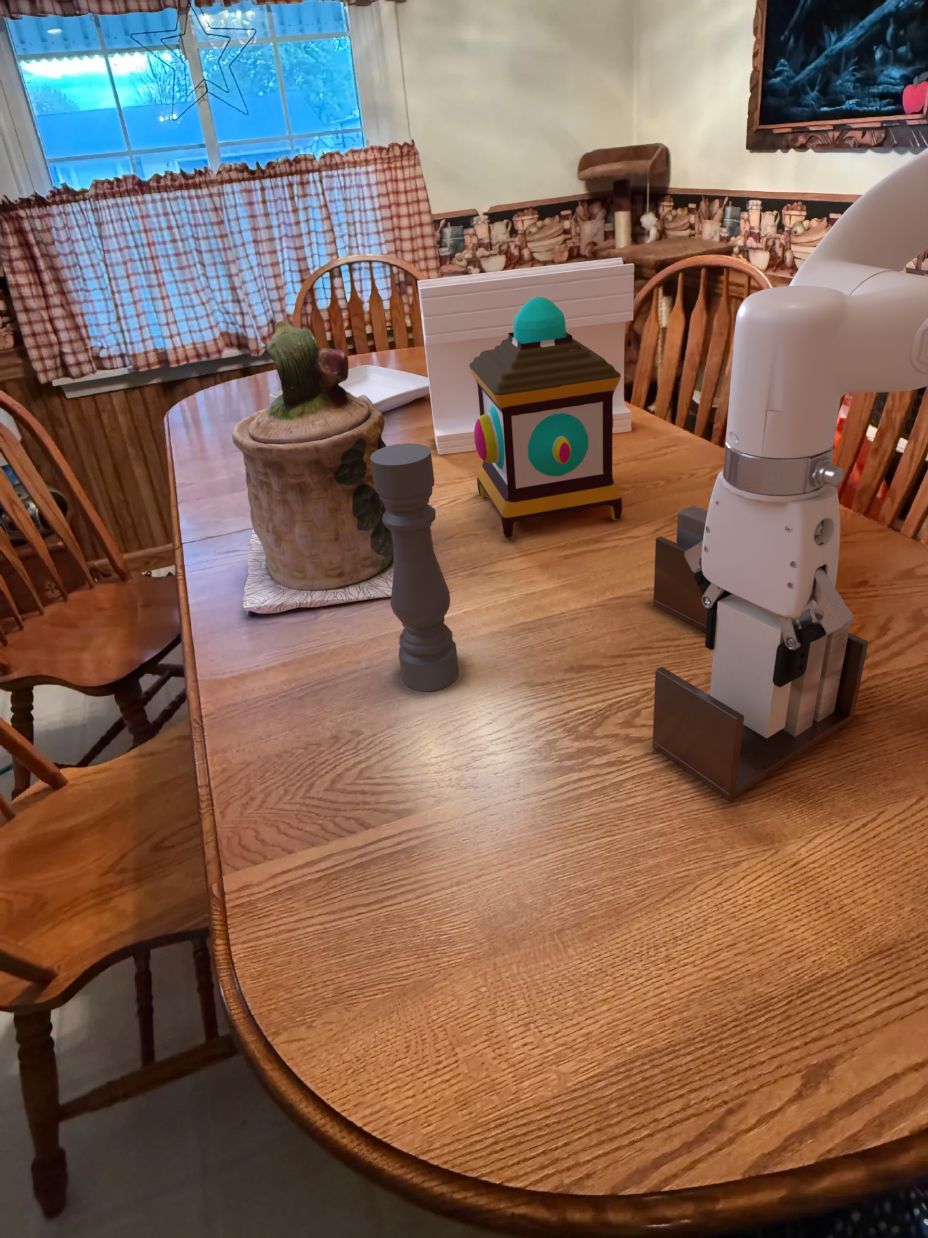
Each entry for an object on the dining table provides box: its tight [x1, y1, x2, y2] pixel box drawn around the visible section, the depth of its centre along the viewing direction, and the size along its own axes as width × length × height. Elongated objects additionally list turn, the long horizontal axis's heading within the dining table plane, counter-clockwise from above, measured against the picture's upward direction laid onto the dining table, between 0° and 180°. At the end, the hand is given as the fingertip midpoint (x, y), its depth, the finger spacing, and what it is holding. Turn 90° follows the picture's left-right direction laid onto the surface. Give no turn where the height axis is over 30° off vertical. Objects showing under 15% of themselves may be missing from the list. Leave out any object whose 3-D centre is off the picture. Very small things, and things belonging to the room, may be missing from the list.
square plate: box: [268, 364, 430, 414], centre depth 177 cm, size 27×27×4 cm
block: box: [417, 257, 635, 456], centre depth 143 cm, size 35×8×28 cm, turn 96°
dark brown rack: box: [651, 600, 869, 802], centre depth 73 cm, size 17×9×12 cm, turn 124°
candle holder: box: [370, 442, 460, 692], centre depth 82 cm, size 6×6×25 cm
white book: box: [709, 594, 800, 738], centre depth 71 cm, size 2×6×11 cm, turn 34°
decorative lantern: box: [469, 297, 623, 540], centre depth 115 cm, size 20×20×30 cm
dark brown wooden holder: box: [652, 505, 708, 633], centre depth 94 cm, size 17×9×12 cm, turn 124°
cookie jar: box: [231, 319, 395, 615], centre depth 105 cm, size 25×25×32 cm
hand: (752, 659), depth 71 cm, fingers closed on white book, 6 cm apart
